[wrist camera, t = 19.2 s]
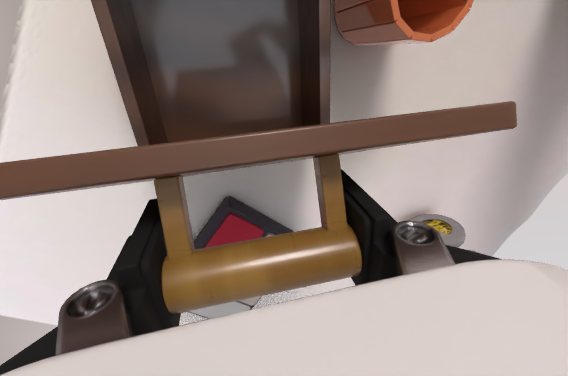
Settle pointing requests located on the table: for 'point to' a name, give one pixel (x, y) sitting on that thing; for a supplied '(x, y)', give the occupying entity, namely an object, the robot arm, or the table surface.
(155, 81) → the chest
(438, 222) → the pocket watch
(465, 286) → the robot arm
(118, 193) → the table surface
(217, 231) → the calculator
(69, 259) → the table surface
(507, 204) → the table surface
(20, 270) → the table surface
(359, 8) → the cup
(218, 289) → the lid
